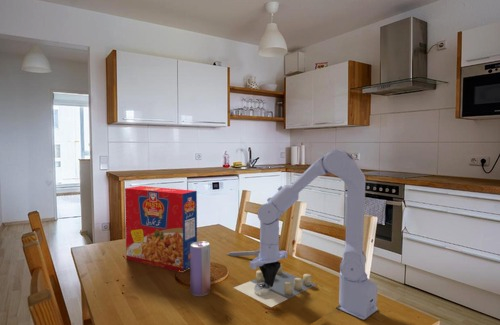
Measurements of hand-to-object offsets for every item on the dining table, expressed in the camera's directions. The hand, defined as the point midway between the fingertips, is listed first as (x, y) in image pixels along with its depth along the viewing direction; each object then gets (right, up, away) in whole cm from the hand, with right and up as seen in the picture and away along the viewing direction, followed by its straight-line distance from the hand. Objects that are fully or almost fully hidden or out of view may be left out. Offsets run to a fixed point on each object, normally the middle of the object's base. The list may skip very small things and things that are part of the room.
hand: (269, 285), depth 98 cm
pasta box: (-40, -1, +25) cm, 47 cm away
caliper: (-6, -1, +29) cm, 29 cm away
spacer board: (+2, -2, +2) cm, 3 cm away
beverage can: (-21, -2, 0) cm, 21 cm away
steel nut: (-2, -1, -2) cm, 3 cm away
